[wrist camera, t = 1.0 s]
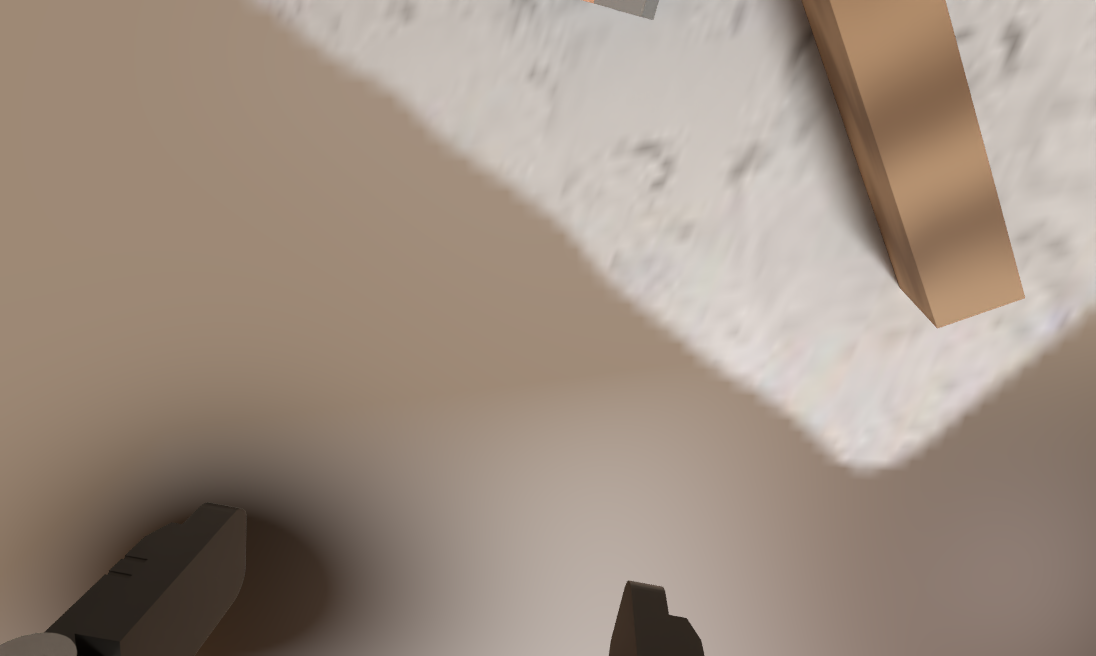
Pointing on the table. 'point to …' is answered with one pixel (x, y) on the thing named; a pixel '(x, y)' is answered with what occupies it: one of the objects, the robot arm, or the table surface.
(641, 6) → the balance stand
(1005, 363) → the table surface
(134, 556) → the robot arm
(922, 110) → the brown wooden beam
